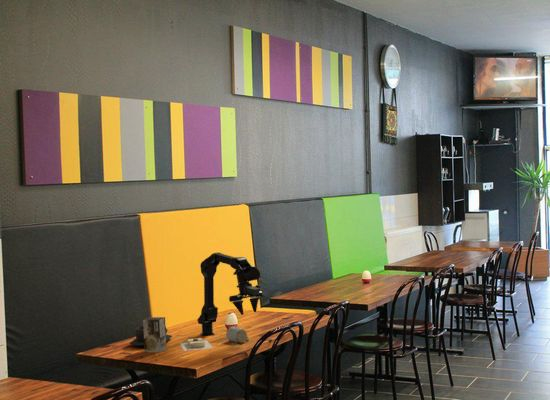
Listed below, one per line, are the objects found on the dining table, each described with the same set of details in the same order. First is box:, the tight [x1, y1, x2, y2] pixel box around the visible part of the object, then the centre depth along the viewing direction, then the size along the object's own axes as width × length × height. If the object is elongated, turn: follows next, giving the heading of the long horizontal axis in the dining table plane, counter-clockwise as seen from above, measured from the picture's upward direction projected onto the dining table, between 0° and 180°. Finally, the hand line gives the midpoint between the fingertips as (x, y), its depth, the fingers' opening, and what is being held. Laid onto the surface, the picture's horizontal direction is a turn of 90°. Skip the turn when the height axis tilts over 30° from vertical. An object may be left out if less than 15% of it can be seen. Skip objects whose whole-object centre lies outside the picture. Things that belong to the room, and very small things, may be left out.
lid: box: [186, 337, 205, 348], centre depth 365 cm, size 11×7×3 cm, turn 15°
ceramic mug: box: [226, 325, 250, 344], centre depth 372 cm, size 11×8×8 cm
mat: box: [179, 340, 214, 352], centre depth 365 cm, size 18×14×1 cm
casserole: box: [129, 325, 173, 347], centre depth 375 cm, size 25×19×8 cm
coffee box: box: [142, 316, 168, 353], centre depth 357 cm, size 9×6×16 cm
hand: (248, 313), depth 368 cm, fingers open, 9 cm apart
